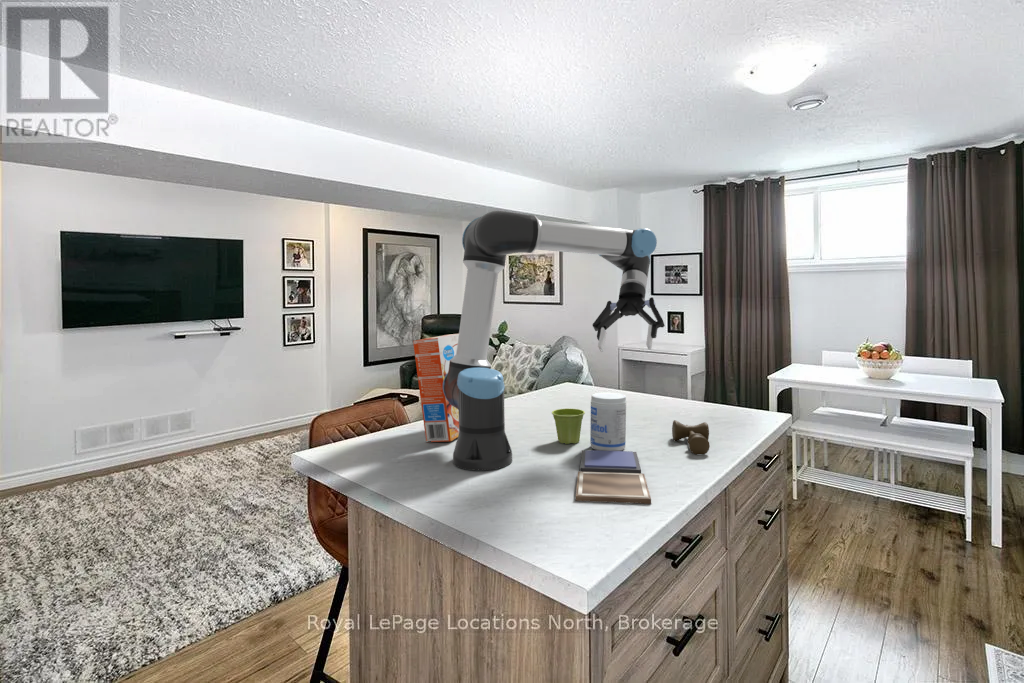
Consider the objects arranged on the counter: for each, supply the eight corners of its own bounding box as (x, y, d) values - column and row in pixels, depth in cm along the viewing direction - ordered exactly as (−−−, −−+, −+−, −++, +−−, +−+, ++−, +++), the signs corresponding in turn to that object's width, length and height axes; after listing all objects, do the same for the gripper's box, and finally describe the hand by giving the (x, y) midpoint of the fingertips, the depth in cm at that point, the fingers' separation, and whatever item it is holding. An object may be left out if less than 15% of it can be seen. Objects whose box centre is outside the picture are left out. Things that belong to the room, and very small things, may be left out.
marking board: (578, 475, 121) (578, 471, 121) (644, 477, 118) (644, 473, 118) (575, 500, 106) (575, 495, 106) (651, 503, 104) (651, 498, 104)
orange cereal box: (450, 441, 149) (437, 337, 148) (426, 442, 152) (413, 340, 150) (481, 422, 171) (470, 332, 169) (459, 423, 173) (447, 334, 172)
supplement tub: (584, 449, 142) (583, 396, 140) (601, 441, 149) (600, 390, 148) (616, 455, 136) (615, 400, 134) (632, 446, 143) (632, 394, 142)
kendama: (680, 456, 135) (669, 434, 155) (718, 458, 134) (702, 435, 153) (681, 434, 135) (670, 414, 154) (719, 436, 133) (703, 416, 153)
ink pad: (581, 454, 136) (581, 448, 136) (636, 456, 134) (636, 450, 134) (580, 472, 123) (580, 466, 123) (641, 474, 120) (641, 468, 120)
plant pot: (576, 447, 143) (576, 417, 142) (546, 443, 148) (545, 413, 147) (590, 439, 151) (590, 410, 150) (561, 435, 156) (561, 407, 155)
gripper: (678, 293, 151) (672, 353, 140) (596, 300, 163) (585, 356, 152) (673, 276, 146) (667, 338, 135) (589, 284, 158) (577, 342, 147)
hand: (624, 348), depth 143 cm, fingers open, 13 cm apart
